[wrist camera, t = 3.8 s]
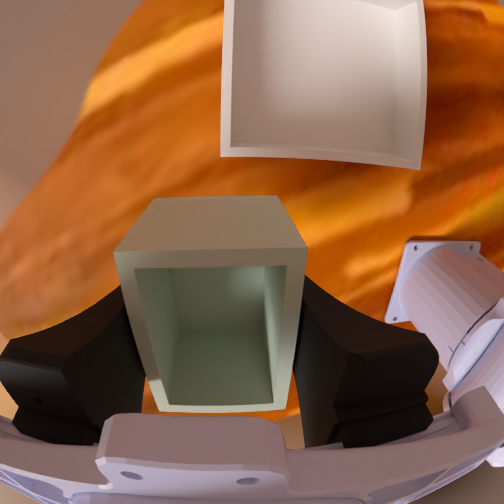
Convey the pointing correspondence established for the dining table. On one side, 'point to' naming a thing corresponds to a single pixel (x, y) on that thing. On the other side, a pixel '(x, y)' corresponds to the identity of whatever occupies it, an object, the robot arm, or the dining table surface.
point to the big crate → (325, 80)
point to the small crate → (214, 300)
